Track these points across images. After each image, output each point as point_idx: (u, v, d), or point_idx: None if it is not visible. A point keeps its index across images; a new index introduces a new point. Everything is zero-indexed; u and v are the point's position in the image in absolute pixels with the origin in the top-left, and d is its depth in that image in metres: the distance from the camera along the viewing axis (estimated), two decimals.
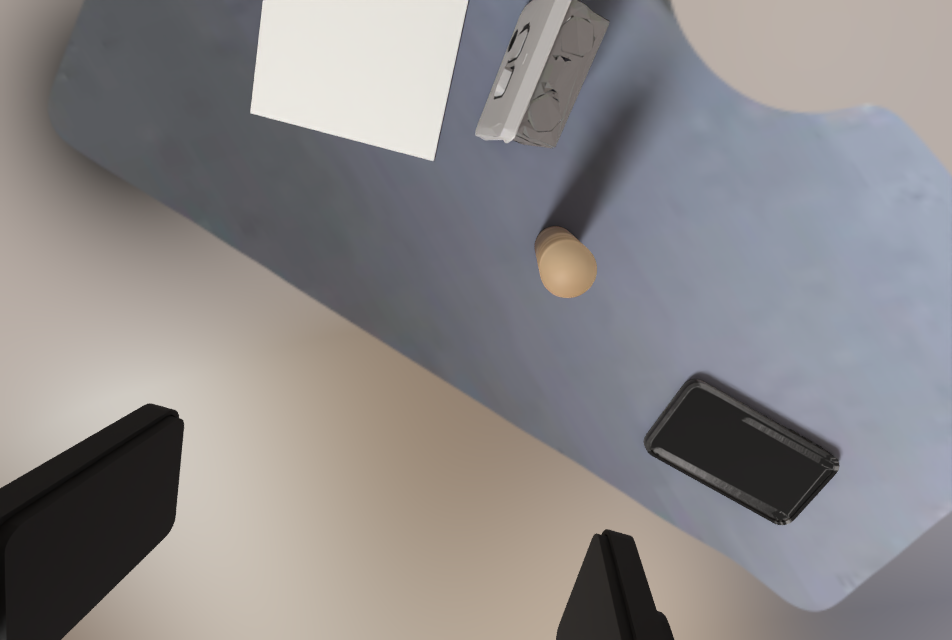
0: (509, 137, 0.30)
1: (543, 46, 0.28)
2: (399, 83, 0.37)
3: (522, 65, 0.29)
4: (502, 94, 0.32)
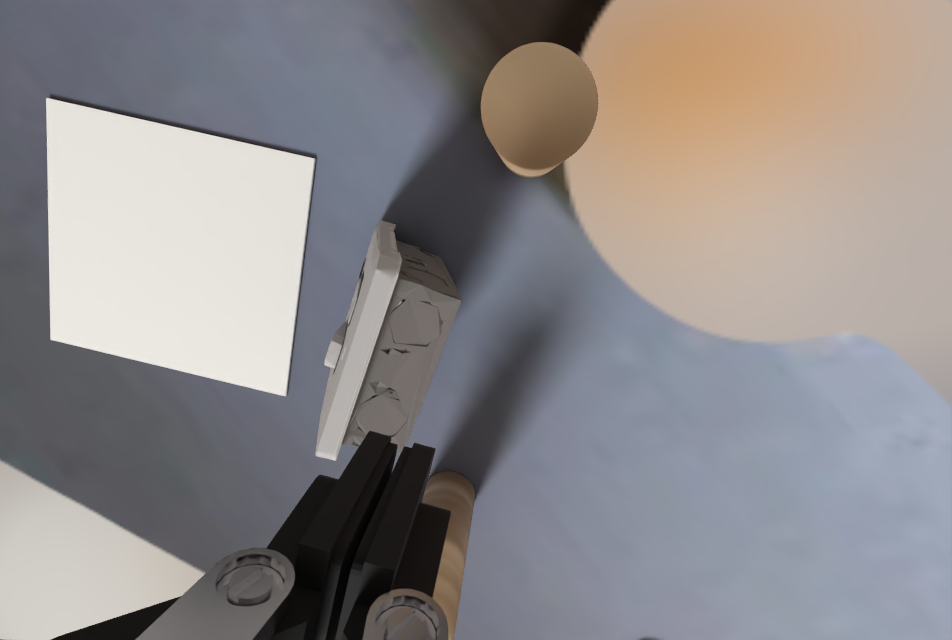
0: (329, 456, 0.21)
1: (359, 351, 0.19)
2: (233, 305, 0.29)
3: (341, 361, 0.20)
4: (333, 370, 0.23)
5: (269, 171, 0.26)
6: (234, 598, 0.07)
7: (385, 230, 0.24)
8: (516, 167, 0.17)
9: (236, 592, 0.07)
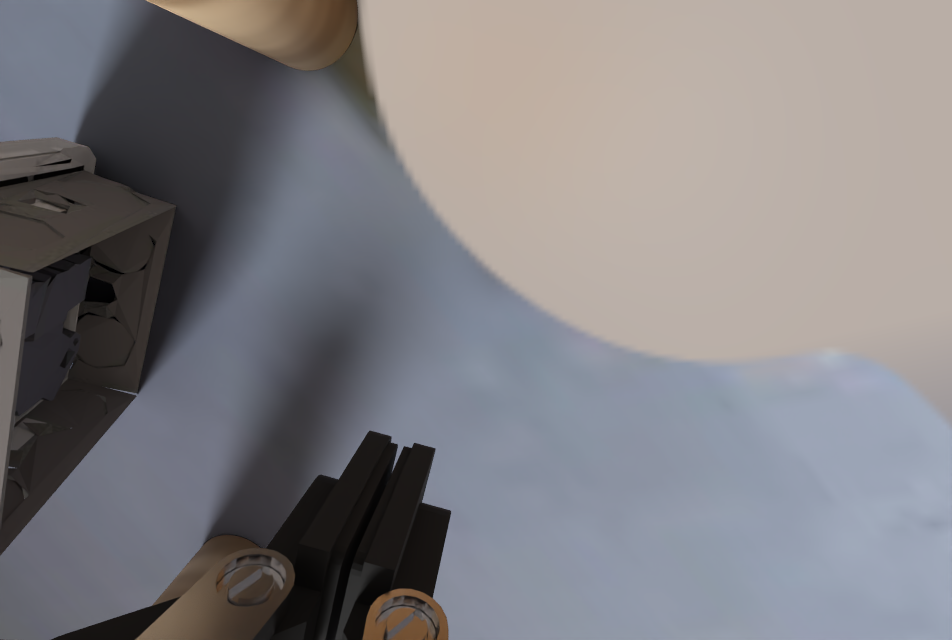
0: None
1: None
2: None
3: None
4: None
5: None
6: (234, 598, 0.07)
7: (12, 146, 0.13)
8: None
9: (236, 592, 0.07)
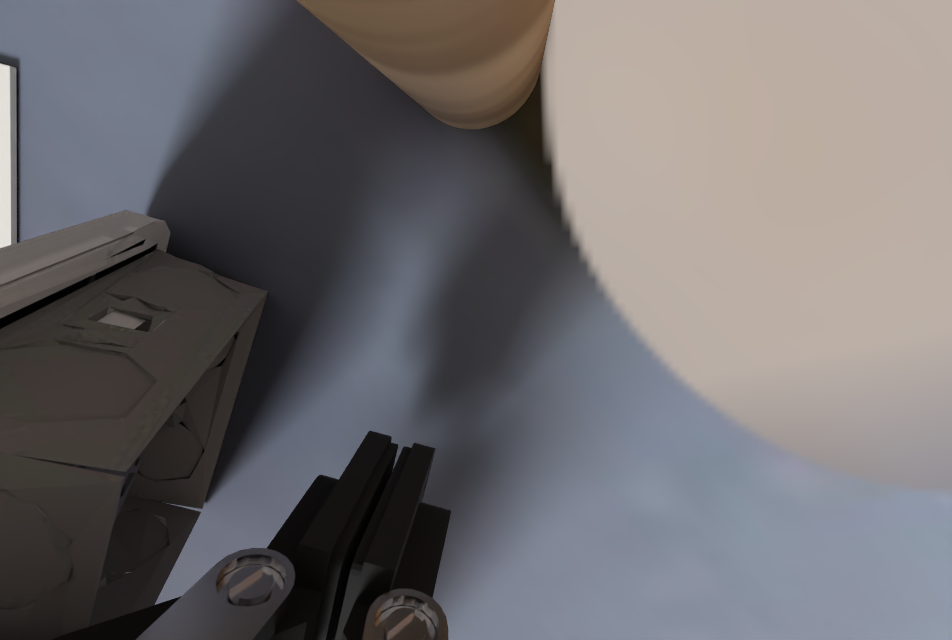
0: None
1: None
2: None
3: None
4: None
5: None
6: (234, 598, 0.07)
7: (79, 234, 0.10)
8: None
9: (236, 592, 0.07)
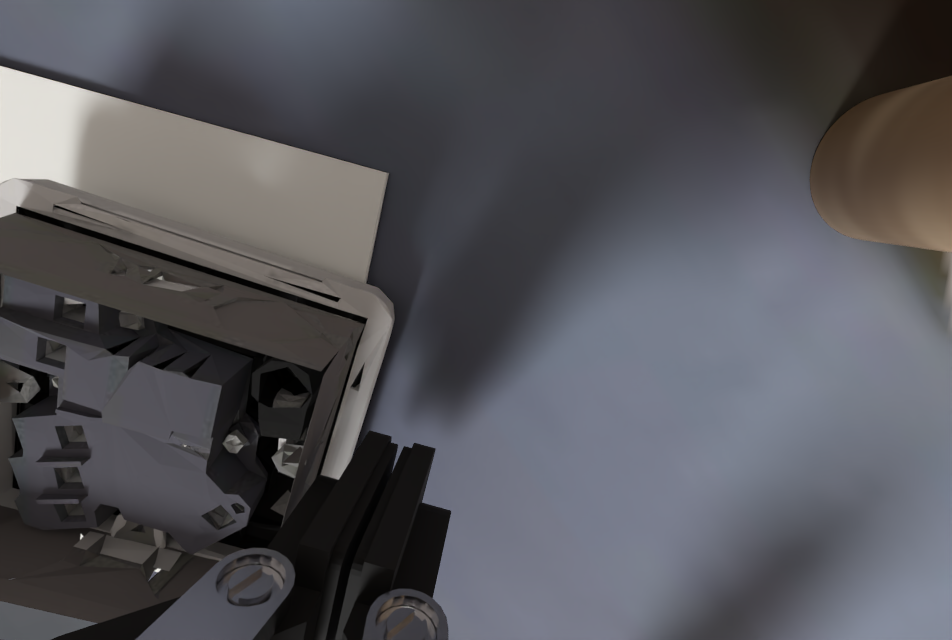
0: None
1: None
2: None
3: None
4: None
5: (285, 195, 0.12)
6: (234, 598, 0.07)
7: (277, 258, 0.12)
8: None
9: (236, 592, 0.07)
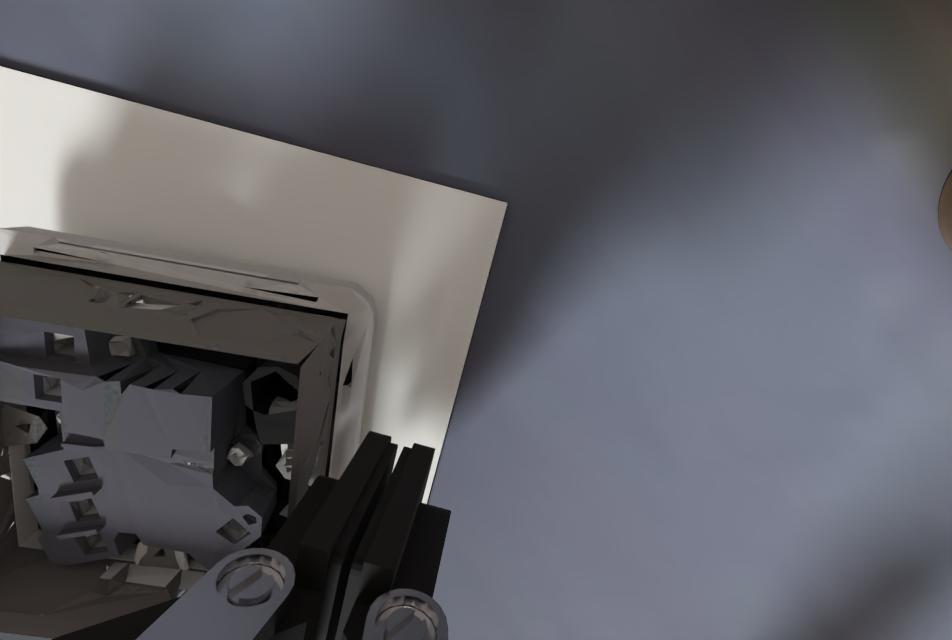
0: None
1: None
2: None
3: None
4: None
5: (402, 225, 0.12)
6: (234, 598, 0.07)
7: (253, 269, 0.12)
8: None
9: (236, 592, 0.07)
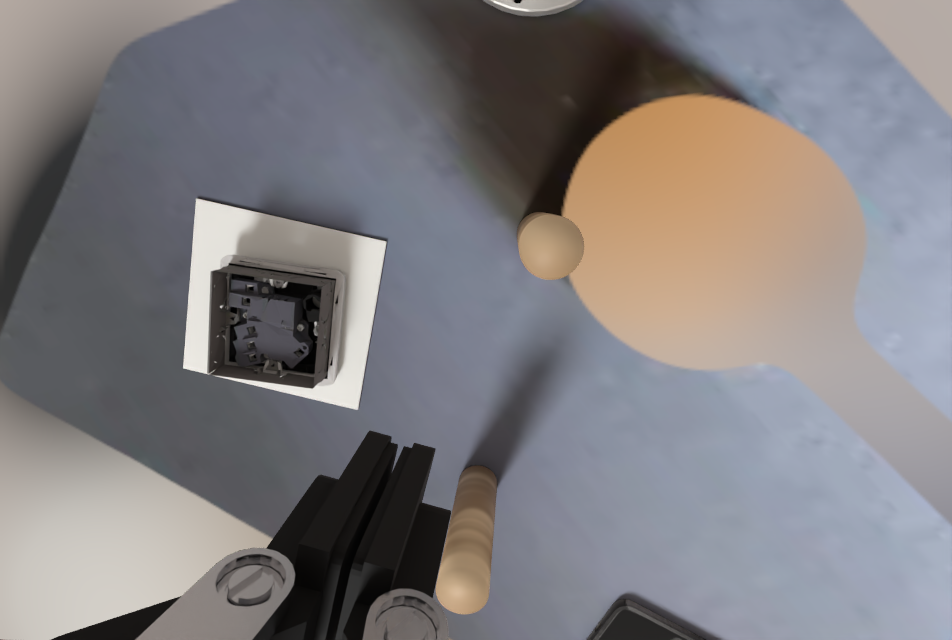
0: None
1: None
2: None
3: (239, 318, 0.39)
4: None
5: (353, 250, 0.37)
6: (234, 598, 0.07)
7: (305, 265, 0.37)
8: None
9: (236, 592, 0.07)
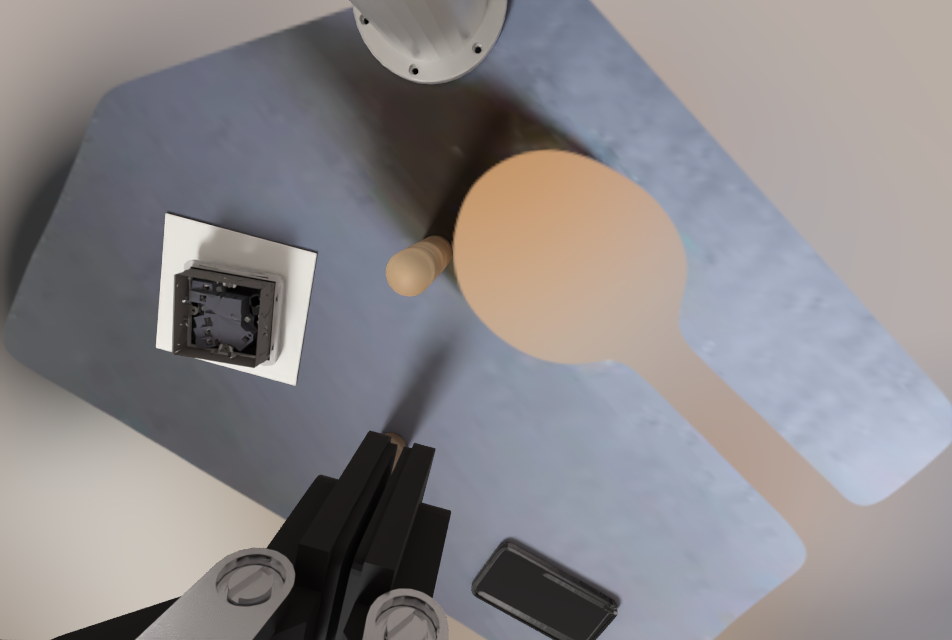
0: None
1: None
2: None
3: (199, 309, 0.48)
4: None
5: (290, 259, 0.47)
6: (234, 598, 0.07)
7: (252, 270, 0.47)
8: None
9: (236, 592, 0.07)
